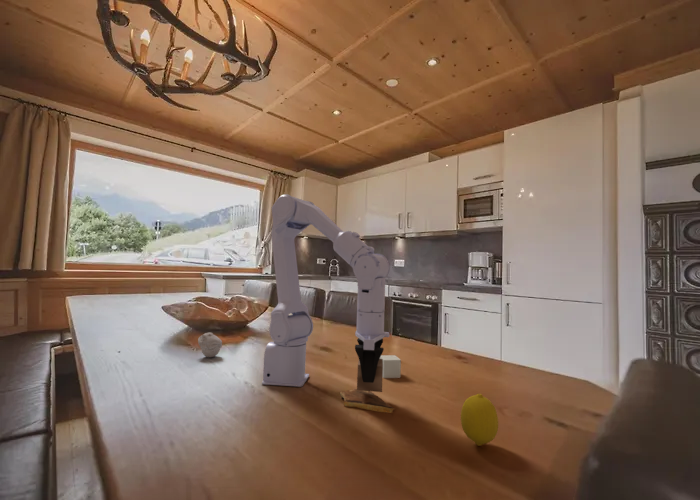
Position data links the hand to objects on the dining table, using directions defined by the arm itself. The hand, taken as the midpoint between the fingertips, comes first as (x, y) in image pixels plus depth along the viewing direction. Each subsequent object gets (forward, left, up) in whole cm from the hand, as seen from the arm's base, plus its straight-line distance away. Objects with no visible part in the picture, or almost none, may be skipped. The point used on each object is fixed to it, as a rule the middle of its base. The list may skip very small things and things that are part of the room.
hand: (368, 377), depth 67 cm
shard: (0, 0, -6) cm, 6 cm away
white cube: (+5, +18, -5) cm, 19 cm away
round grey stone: (-47, +24, -5) cm, 53 cm away
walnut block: (0, 0, -2) cm, 2 cm away
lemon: (+18, -14, -5) cm, 23 cm away
